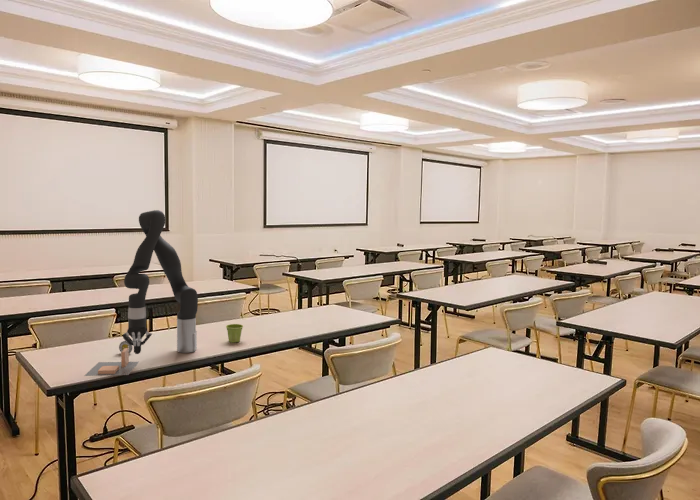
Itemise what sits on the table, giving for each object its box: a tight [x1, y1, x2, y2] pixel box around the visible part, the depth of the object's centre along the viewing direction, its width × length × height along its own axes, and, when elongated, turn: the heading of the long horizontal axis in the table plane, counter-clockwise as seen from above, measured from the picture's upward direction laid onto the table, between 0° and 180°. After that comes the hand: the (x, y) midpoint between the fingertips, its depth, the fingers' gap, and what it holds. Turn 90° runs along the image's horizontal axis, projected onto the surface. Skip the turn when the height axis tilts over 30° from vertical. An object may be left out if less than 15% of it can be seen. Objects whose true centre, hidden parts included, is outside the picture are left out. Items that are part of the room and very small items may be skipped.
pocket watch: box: [118, 336, 133, 354], centre depth 244 cm, size 8×8×10 cm
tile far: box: [120, 347, 130, 367], centre depth 230 cm, size 2×6×7 cm, turn 9°
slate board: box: [84, 361, 140, 377], centre depth 226 cm, size 18×18×1 cm
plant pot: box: [225, 323, 244, 344], centre depth 278 cm, size 9×9×9 cm
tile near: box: [98, 366, 119, 374], centre depth 221 cm, size 2×6×7 cm
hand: (137, 353), depth 231 cm, fingers closed
